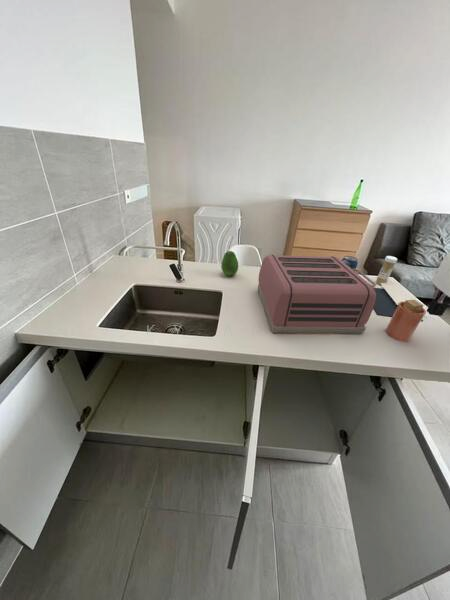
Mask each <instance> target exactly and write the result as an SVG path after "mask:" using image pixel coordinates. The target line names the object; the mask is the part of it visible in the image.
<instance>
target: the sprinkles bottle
mask: <svg viewBox="0 0 450 600" xmlns="http://www.w3.org/2000/svg"><path fill="white" fill-rule="evenodd" d="M397 262H398V258H397V257H395V256H392V255H386V256H385V258H384V261H383V264H382V266H381V268H380V271H379V272H378V275H377V278H376V280H375V284H376V285H379V286H382V284H387V282H388V280H389V278H390V276H391V274H392V272H393V269H394V267H395V265H396V263H397Z"/></svg>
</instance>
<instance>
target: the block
mask: <svg viewBox="0 0 450 600" xmlns="http://www.w3.org/2000/svg"><path fill="white" fill-rule="evenodd" d="M404 302H405V303H404V305H403V307H402V308H404V309H405V310H407V311H410V312H413V313H420V311H421V309H422V308H424V306H425V305H424V304H422V303H421V302H419V301H418V300H417V299H405V301H404Z"/></svg>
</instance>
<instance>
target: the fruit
mask: <svg viewBox="0 0 450 600" xmlns="http://www.w3.org/2000/svg"><path fill="white" fill-rule="evenodd" d="M220 267H221V271H222V273H223V274H224V275H225V276H227V277H233V276H235V275H236V274H237V273H238V271H239V260H238V259H237V255H236V253H235V252H234V251H232V250H227V251H226V252H225V253H224V255H223V258H222V260H221V265H220Z"/></svg>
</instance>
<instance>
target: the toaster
mask: <svg viewBox="0 0 450 600" xmlns="http://www.w3.org/2000/svg"><path fill="white" fill-rule="evenodd" d="M341 260H342V259H340V258H339V257H337V256H315V255H285V254H284V255H282V254H281V255H280V254H268V255H266V256H265V257H264V258H263V259H262V263H261V265H260V268H259V273H258V278H257V279H258V285H257V292H258V294H259V297H260V301H261V304H262V306H263V310H264V312H265V315H266V318H267V322H268V324H269V327H270V330H271V333H272V334H363V333H364V332H365V331H366V328H367V327H366V326H365V325H366V324H367V323H368V321H370V317H371V316H372V313H373V311H374V309H373V307H374V304H375V299H376V293H375V290H374V288H376V285H377V283H376V282H374V281H373V280H372V279H371V278H370V277H368V276H367V275H365V273H363V272H362V271H361V270H359V269H358V268H356V269H352V268H350V267H349V266H347V265H346V264H345V263H344V262H342V261H341ZM359 274H360V275H359ZM364 278H365V279H364ZM367 281H368V282H367ZM369 282H370V283H369ZM373 287H374V288H373Z"/></svg>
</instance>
